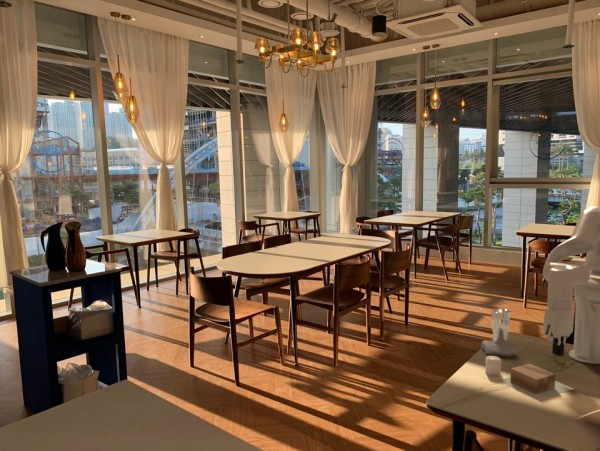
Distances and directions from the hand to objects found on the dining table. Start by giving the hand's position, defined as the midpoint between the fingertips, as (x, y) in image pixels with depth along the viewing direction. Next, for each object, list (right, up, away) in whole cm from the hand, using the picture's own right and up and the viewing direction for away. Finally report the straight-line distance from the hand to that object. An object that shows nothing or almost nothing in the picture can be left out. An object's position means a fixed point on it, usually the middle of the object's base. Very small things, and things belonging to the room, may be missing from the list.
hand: (558, 354), depth 164 cm
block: (-7, -6, -3) cm, 10 cm away
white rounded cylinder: (-21, -9, +5) cm, 23 cm away
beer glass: (-6, -6, +33) cm, 34 cm away
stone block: (-10, -7, +26) cm, 28 cm away
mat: (-10, -10, -4) cm, 14 cm away
